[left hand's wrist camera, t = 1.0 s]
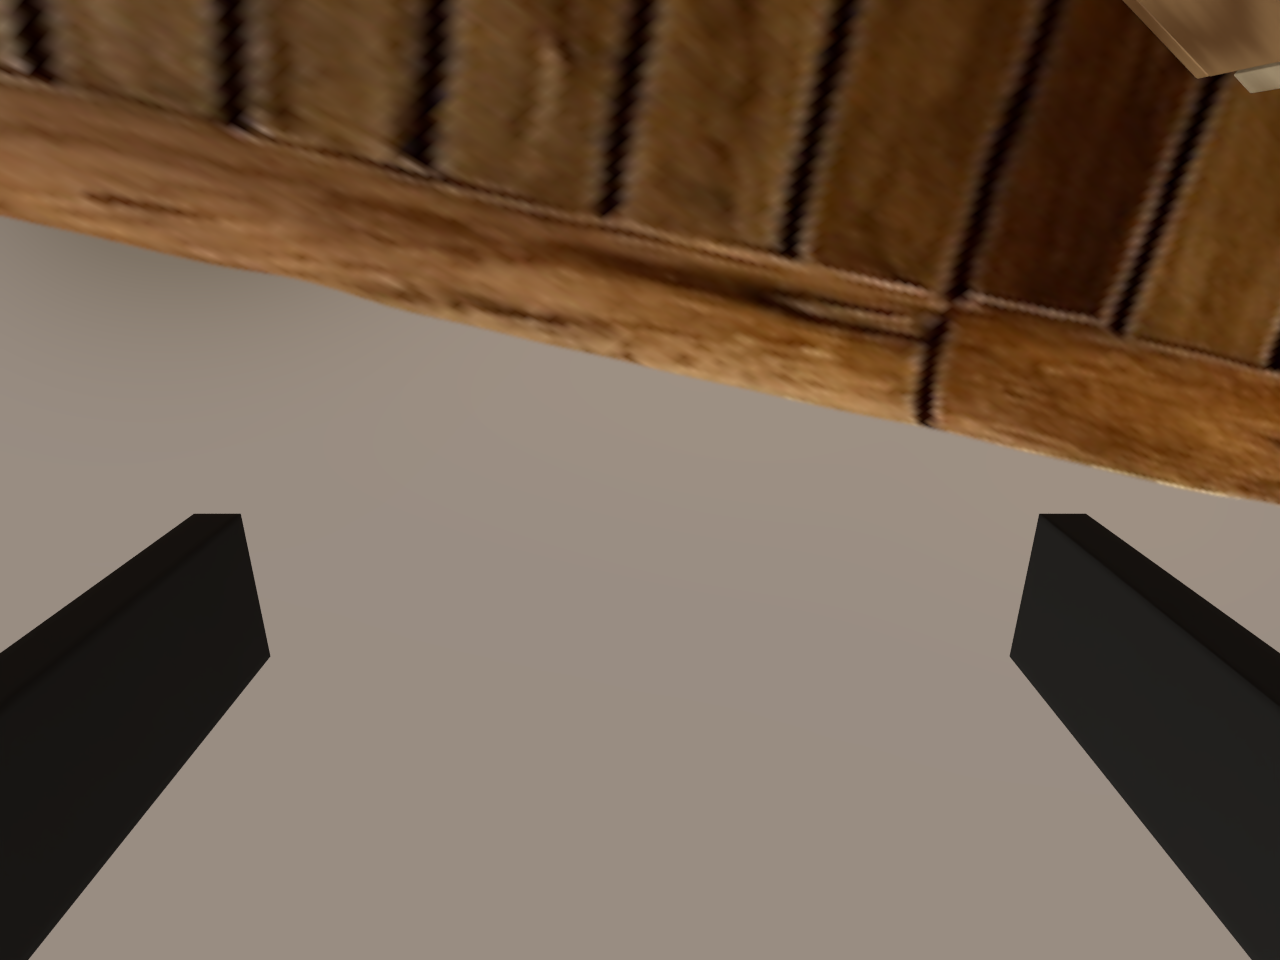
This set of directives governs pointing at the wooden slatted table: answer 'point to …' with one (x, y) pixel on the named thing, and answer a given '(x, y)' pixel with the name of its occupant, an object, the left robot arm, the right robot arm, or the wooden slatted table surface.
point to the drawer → (1260, 77)
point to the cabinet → (1215, 32)
